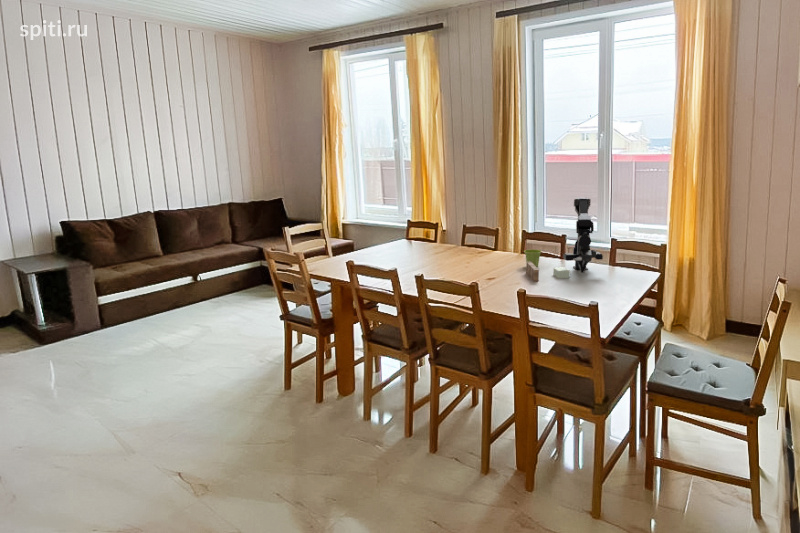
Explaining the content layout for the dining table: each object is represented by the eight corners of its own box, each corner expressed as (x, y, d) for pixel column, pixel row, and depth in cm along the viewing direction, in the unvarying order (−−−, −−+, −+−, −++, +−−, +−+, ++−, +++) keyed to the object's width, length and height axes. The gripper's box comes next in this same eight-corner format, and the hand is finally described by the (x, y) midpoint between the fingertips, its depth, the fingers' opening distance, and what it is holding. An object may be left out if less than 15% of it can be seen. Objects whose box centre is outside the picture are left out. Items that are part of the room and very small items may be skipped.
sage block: (553, 275, 299) (553, 267, 298) (564, 274, 299) (564, 267, 298) (557, 278, 292) (558, 270, 291) (569, 277, 292) (569, 270, 292)
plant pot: (520, 266, 319) (520, 251, 317) (531, 263, 325) (531, 248, 322) (533, 269, 312) (533, 253, 310) (544, 266, 317) (545, 250, 315)
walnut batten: (526, 272, 305) (526, 261, 303) (530, 272, 305) (531, 261, 303) (533, 281, 287) (533, 269, 286) (538, 281, 287) (538, 269, 286)
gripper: (569, 246, 284) (568, 277, 287) (607, 245, 283) (605, 275, 287) (563, 242, 295) (562, 271, 298) (599, 241, 294) (598, 270, 298)
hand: (582, 272), depth 295 cm, fingers closed
